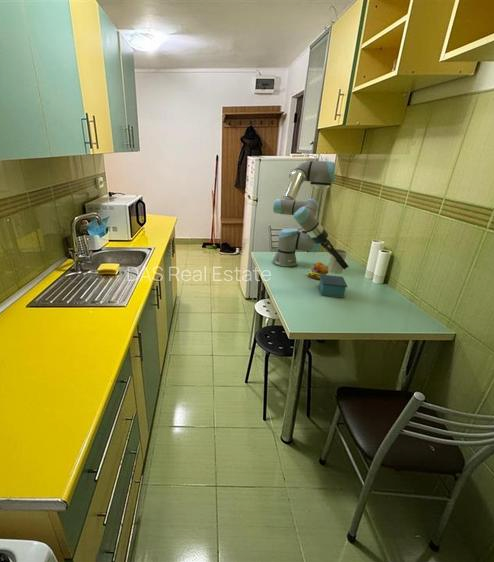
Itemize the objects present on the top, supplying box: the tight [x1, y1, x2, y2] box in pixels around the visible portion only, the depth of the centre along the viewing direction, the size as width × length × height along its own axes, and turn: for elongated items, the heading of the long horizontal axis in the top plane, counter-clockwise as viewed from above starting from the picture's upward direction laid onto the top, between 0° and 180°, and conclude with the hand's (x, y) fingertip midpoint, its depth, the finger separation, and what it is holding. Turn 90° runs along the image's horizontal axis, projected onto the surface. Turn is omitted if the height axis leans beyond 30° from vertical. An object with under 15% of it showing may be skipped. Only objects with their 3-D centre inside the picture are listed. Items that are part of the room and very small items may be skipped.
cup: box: [327, 248, 348, 275], centre depth 157 cm, size 7×7×11 cm
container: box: [318, 274, 348, 298], centre depth 163 cm, size 13×12×7 cm
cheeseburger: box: [307, 261, 330, 280], centre depth 182 cm, size 10×11×10 cm
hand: (343, 264), depth 158 cm, fingers closed on cup, 7 cm apart
